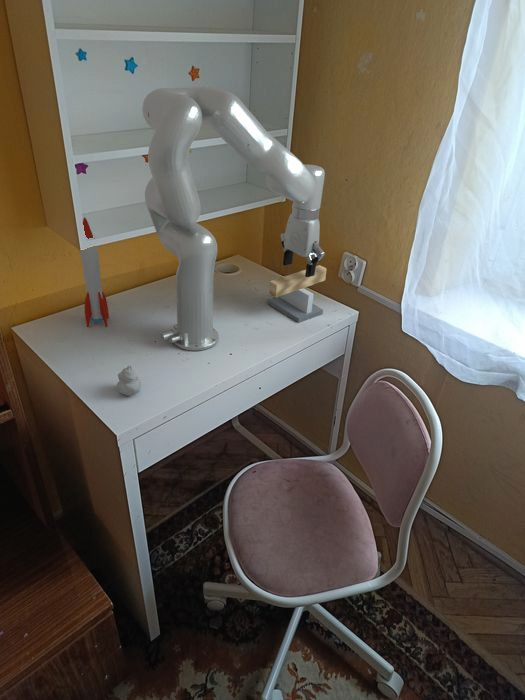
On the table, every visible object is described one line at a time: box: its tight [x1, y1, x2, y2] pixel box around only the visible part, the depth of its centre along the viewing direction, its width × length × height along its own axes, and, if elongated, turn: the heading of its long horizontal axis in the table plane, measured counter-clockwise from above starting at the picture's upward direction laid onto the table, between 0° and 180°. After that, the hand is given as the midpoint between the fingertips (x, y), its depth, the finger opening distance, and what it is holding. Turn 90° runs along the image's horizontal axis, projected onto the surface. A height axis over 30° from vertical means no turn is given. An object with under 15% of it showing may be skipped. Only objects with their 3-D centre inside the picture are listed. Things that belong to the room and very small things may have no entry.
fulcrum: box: [267, 288, 324, 324], centre depth 152 cm, size 10×14×8 cm
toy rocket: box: [79, 217, 110, 328], centre depth 132 cm, size 6×6×30 cm
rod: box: [269, 264, 327, 298], centre depth 149 cm, size 20×3×4 cm, turn 129°
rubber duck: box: [116, 364, 142, 397], centre depth 113 cm, size 5×7×8 cm
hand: (298, 270), depth 147 cm, fingers open, 9 cm apart
